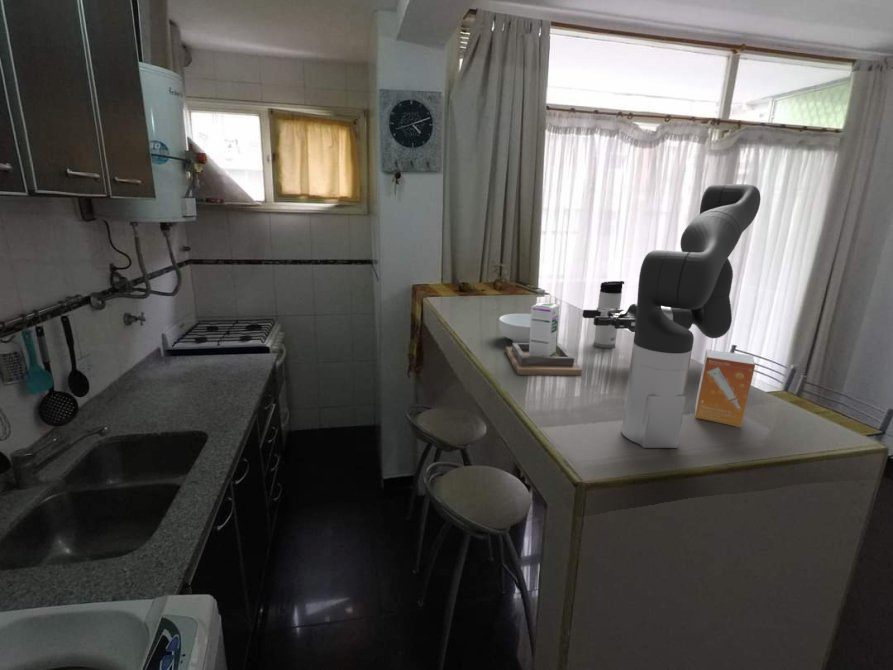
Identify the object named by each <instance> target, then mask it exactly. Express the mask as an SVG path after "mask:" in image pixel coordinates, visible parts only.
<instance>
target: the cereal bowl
mask: <svg viewBox="0 0 893 670" xmlns="http://www.w3.org/2000/svg"><path fill="white" fill-rule="evenodd" d="M530 325H531V313H509V314H505V315H501V316H500V317H499V318H498V327H499V330H500V332H501V334H502V335H503V336H504V337H505V338H507V339H509V340H511V341H512V342H513V343H530Z"/></svg>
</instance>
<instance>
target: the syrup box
mask: <svg viewBox="0 0 893 670" xmlns="http://www.w3.org/2000/svg"><path fill="white" fill-rule="evenodd" d="M530 309H531V311H530V314H531V325H530V343H529V356H535V357H555V356H556V348H557V343H558V331H559V330H558V329H559V319H560V318H559V317H560V304H558V303H553V302H540V301H539V302H538V303H536V304H534V305H531V308H530Z"/></svg>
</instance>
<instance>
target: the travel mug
mask: <svg viewBox="0 0 893 670" xmlns="http://www.w3.org/2000/svg"><path fill="white" fill-rule="evenodd" d="M623 285H625V281H623V280H619V281H616V280H615V281H613V280H612V281H610V280H609V281H603V282H601V284H600V289H599V295H598V304H597V308H598V307H599V308H617V309H621V302H622V295H623ZM604 314H605V313H604V312H601V315H604ZM617 334H618V329H616V328H614V327H610V326H596V325H595V330H594V340H593V345H594V346H595V347H598V348H603V349H613V348H615V347H616V344H617V343H616V342H617V337H618V336H617Z"/></svg>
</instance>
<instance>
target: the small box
mask: <svg viewBox="0 0 893 670" xmlns="http://www.w3.org/2000/svg"><path fill="white" fill-rule="evenodd" d="M755 368H756V363H755V360H754V356H753V355H749V354H740V353H736V352H735V353H734V352H731V351H722V350H720V351H719V350H715V349H714V350H712V349H705V352H704V358H703V364H702V369H701V374H700V378H699V379H700V380H699V384H698V385H699V386H698V389H697V395H696V401H695V408H694V409H695V411H694V418H695V419H699V420H700V419H701V420H705V421H710V422H715V423H720V424H724V425H729V426H733V427H737V428H742V425H743V421H744V416H745V412H746V409H747V408H746V407H747V405H748V404H747V403H748V399H749V395H750V390H751V385H752V381H753V379H754V378H753V377H754V373H755Z"/></svg>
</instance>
